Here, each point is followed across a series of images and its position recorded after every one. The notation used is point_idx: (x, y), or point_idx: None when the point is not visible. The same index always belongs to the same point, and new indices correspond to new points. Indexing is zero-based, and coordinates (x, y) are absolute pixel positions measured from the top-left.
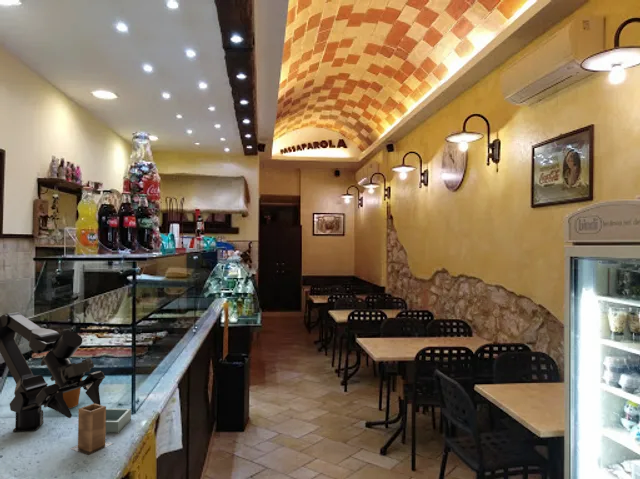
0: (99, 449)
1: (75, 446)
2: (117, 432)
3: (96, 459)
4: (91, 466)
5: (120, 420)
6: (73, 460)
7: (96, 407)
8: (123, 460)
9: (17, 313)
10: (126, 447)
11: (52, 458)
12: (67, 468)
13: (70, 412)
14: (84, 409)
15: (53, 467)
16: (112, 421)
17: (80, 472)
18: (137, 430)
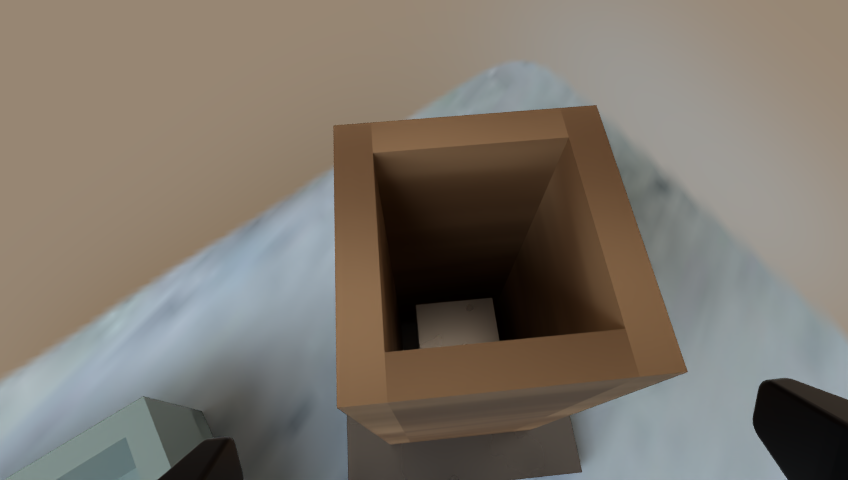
0: None
1: (532, 469)
2: (194, 412)
3: None
4: None
5: (88, 434)
6: None
7: (383, 290)
8: (431, 104)
9: None
10: (320, 203)
11: (711, 456)
12: (674, 244)
13: (820, 403)
14: (618, 257)
15: (737, 320)
16: (152, 461)
17: (636, 158)
18: (73, 361)
